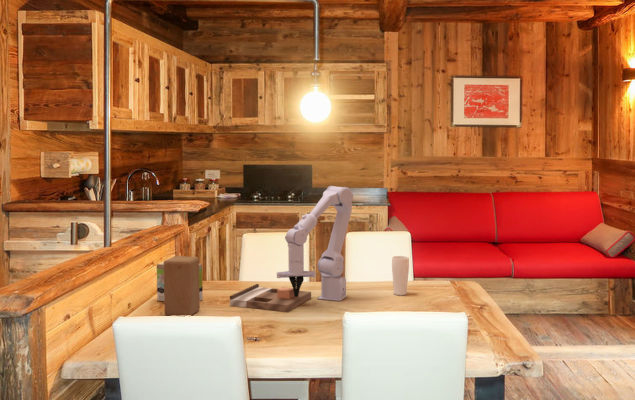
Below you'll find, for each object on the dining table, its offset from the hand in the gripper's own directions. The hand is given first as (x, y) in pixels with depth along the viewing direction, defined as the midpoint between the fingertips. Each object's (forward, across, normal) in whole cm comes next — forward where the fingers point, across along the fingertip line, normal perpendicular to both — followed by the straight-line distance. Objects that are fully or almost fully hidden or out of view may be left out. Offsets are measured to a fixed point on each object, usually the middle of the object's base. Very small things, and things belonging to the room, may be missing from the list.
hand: (296, 296), depth 245 cm
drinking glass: (+3, -43, -11) cm, 44 cm away
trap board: (+3, +8, -5) cm, 10 cm away
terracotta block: (+1, +4, -2) cm, 4 cm away
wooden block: (+3, +42, +7) cm, 42 cm away
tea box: (+4, +44, -12) cm, 46 cm away
